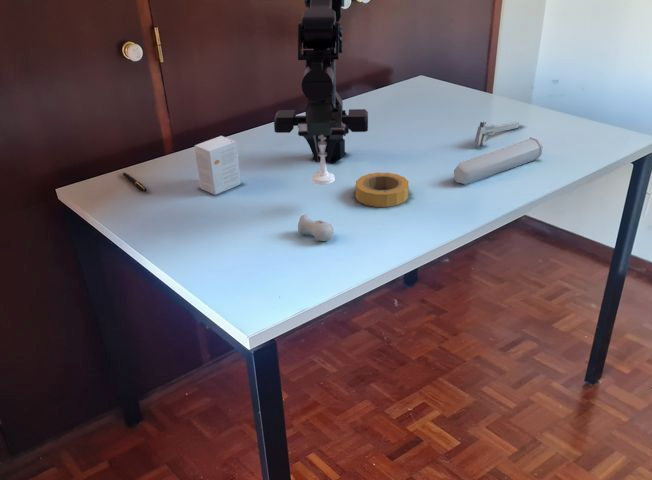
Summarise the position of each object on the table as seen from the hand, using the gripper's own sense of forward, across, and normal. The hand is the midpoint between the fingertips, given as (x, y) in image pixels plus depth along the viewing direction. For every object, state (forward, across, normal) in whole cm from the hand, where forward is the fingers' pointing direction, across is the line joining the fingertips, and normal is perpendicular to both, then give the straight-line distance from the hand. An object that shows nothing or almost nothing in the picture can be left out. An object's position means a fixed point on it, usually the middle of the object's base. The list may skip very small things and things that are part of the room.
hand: (322, 161), depth 148 cm
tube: (+11, +40, +19) cm, 45 cm away
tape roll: (+10, +13, +6) cm, 17 cm away
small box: (+11, -25, +11) cm, 29 cm away
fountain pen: (+11, -46, +13) cm, 49 cm away
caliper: (+11, +43, +41) cm, 61 cm away
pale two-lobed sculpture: (+11, -1, -13) cm, 17 cm away
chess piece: (+4, 0, 0) cm, 4 cm away
